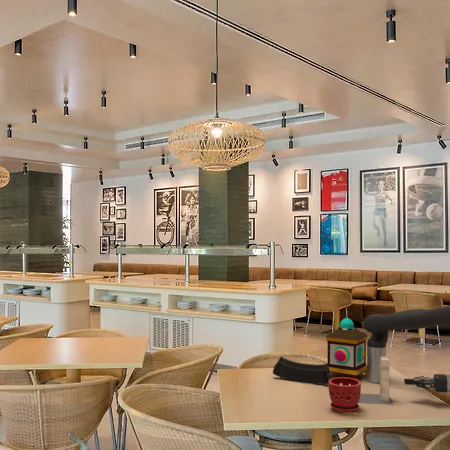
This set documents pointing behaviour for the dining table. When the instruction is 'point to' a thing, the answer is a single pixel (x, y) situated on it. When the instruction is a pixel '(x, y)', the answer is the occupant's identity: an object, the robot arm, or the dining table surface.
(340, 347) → the decorative lantern
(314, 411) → the dining table surface
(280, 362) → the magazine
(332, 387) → the plant pot
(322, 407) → the dining table surface
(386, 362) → the slab
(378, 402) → the mat
